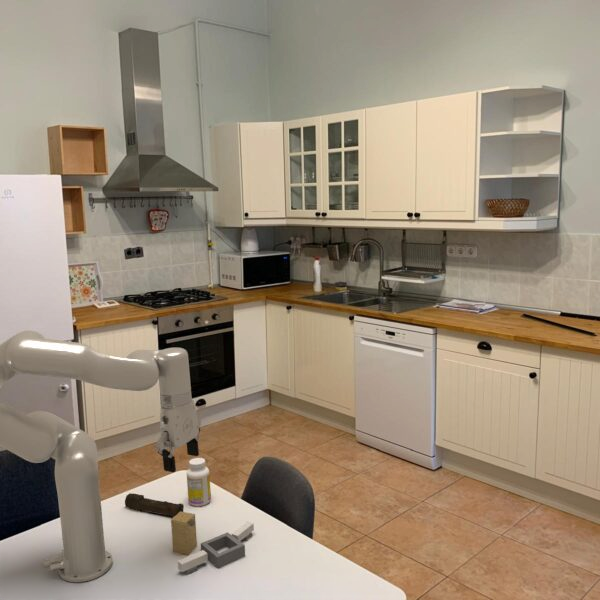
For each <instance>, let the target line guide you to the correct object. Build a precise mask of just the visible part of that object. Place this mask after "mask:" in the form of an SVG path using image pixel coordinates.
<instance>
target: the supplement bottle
mask: <svg viewBox="0 0 600 600" xmlns="http://www.w3.org/2000/svg"><path fill="white" fill-rule="evenodd" d="M188 465H189V468H188V469H187V471H186V484H187V495H188V496H187V499H188V503H189V504H190V506H193V507H203V506H206V505H209V503H210V502H211V500H212V490H211V475H210V469H209V467H207V466H206V459H205V458H202V457H194V458H192V459H190V460H189V461H188Z"/></svg>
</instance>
